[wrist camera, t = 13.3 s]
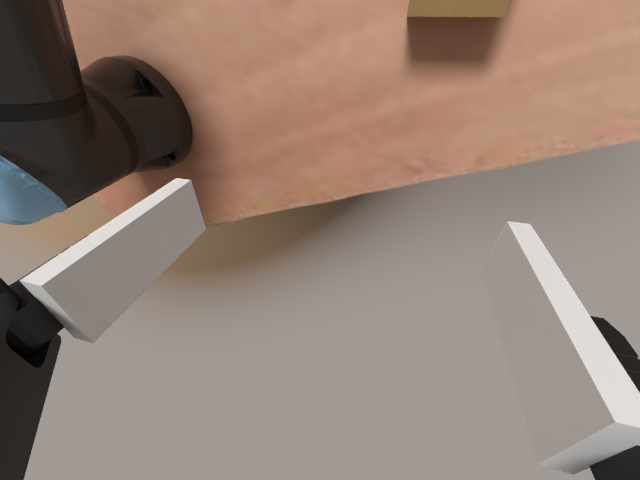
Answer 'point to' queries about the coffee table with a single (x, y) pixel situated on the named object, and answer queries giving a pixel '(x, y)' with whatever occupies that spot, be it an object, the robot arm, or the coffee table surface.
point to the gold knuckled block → (458, 8)
